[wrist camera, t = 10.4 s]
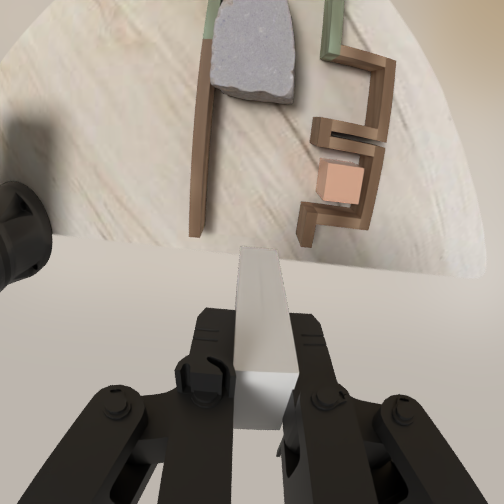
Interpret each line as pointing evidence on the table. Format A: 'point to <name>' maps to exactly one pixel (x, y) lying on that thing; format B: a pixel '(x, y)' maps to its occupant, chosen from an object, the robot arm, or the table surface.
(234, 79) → the decorative stone
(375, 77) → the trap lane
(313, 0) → the table surface
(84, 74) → the table surface
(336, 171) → the cube
